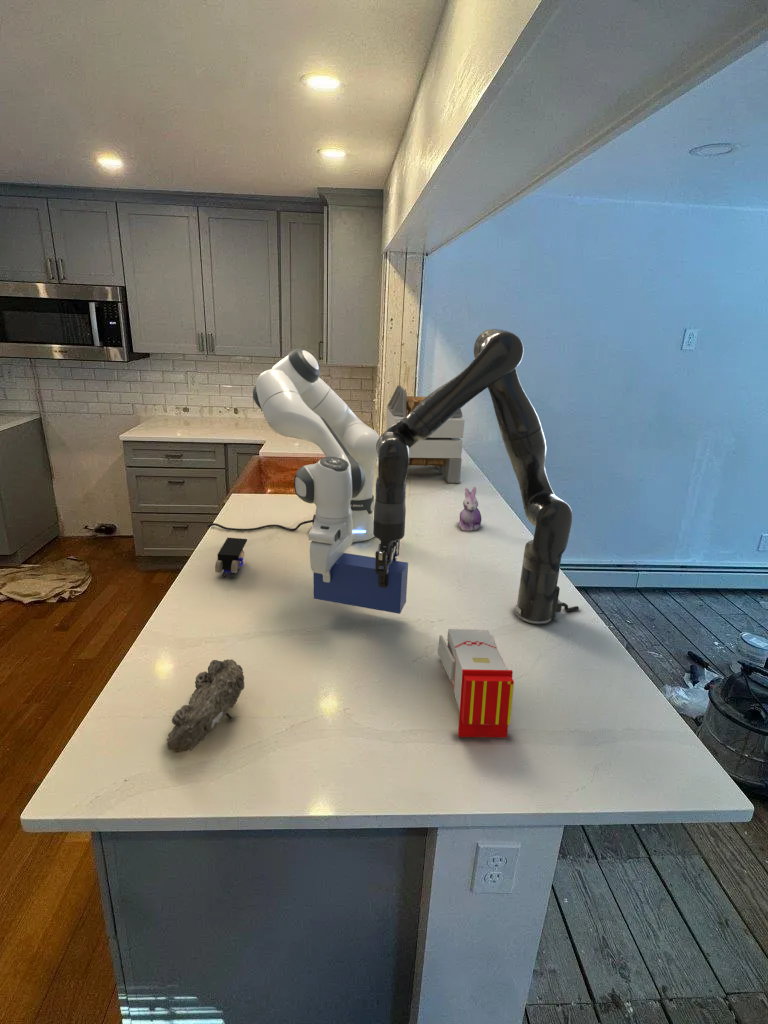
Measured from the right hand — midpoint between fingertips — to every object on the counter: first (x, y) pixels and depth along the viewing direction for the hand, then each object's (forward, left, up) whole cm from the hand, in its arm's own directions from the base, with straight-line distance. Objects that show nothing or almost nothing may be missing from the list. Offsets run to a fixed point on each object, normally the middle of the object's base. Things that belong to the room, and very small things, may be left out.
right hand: (386, 580), depth 140 cm
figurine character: (+41, -32, -12) cm, 53 cm away
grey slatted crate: (-36, -135, -12) cm, 141 cm away
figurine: (-41, -64, -12) cm, 77 cm away
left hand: (+13, -6, -1) cm, 14 cm away
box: (+6, -3, -7) cm, 10 cm away
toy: (-14, +29, -12) cm, 34 cm away
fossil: (+38, +33, -12) cm, 51 cm away
